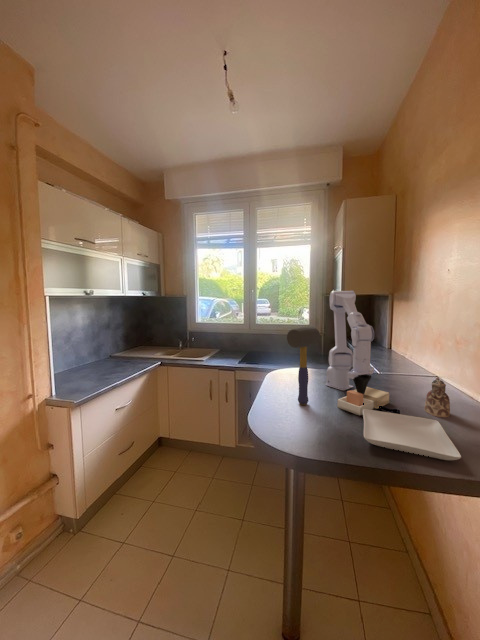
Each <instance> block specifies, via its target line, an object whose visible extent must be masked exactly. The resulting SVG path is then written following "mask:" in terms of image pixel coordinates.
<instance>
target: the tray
mask: <svg viewBox="0 0 480 640" xmlns="http://www.w3.org/2000/svg"><path fill="white" fill-rule="evenodd" d="M363 403H364V405H362V406H360V407H359V406H356V405H353V404H351V403H348V402H347V395H346V396H343V397H340V398H338V399H337V404H336V405H337V408H338V409H340V410H344V411H346V412H349V413H351V414H354V415H357V416H360V417H361V416H363V409H368V410H374V408H373V407H374V401H371V400H368V399H365V398H363Z"/></svg>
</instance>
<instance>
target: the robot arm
mask: <svg viewBox="0 0 480 640" xmlns="http://www.w3.org/2000/svg"><path fill="white" fill-rule="evenodd" d="M356 297H357V295H356V293H355V291H354V290H332V291H331V292H330V294H329V310H332V311H333V322H334V342H335V343H334V344H335V346H334V347H332V348H331V349H330V350H329V352H328V364H329V366H328V367H327V370H326V383H324V384H325V386H327V387H330V388H333V389H337V390H340V391H346V390H349V389H352V388H353V387H354V386H355V389H356V390H357V392H358V393H362V394H363V395H364V393H365V390H366V387H368V384H369V382H370V381H371V379H372V374H374V372H375V367H374V366H373V367H372V366H371V351H372V350H371V349H372V348H371V346H372V343H371V342H373V340H374V339H375V330H374V327H373V326H372V325H370V324H368V323H367V322H366V320H365V318H364V316H363V314H362V313H361V312H359V311H358V310H357V307H356V304H355V303H356V299H357V298H356ZM346 314H347V317H346ZM346 320H347V323H348V325H349V327H350V330H351V332H350V336H351V344H352V346H353V350H352V349H351V348H349V347H348V345H347V327H346V325H347V324H346ZM350 379H351V380H353V383H354V385H350Z"/></svg>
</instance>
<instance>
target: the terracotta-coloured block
mask: <svg viewBox="0 0 480 640" xmlns="http://www.w3.org/2000/svg"><path fill="white" fill-rule="evenodd" d="M352 390H353V389H351V390H347V391H346V396H347V402H348V403H351V404H353V405H356V406H359V407H360V406H362V405H363V394H362V393H358V392H355V391H352Z"/></svg>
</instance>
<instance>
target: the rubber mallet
mask: <svg viewBox="0 0 480 640" xmlns="http://www.w3.org/2000/svg"><path fill="white" fill-rule="evenodd" d="M320 339H321V334H320V331H319V330H318V328H316V327H314V326H302V327H297V328H292V329H290V330H289V331H288V332H287V334H286V340H287V341H286V342H287V343H288V345H289V346H290V347H291V348H300V349H299V368H298V373H297V374H298V375H297V376H298V377H297V379H298V396H297V402H298V404H299V405H300V406H306V405H307V404H308V403H309V396H308V395H309V394H308V385H309V369H308V367H307V366H308V363H307V362H308V361H307V358H308V355H307V353H308V347H309V346H312V345H316V344H318V342H319V341H320Z"/></svg>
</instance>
